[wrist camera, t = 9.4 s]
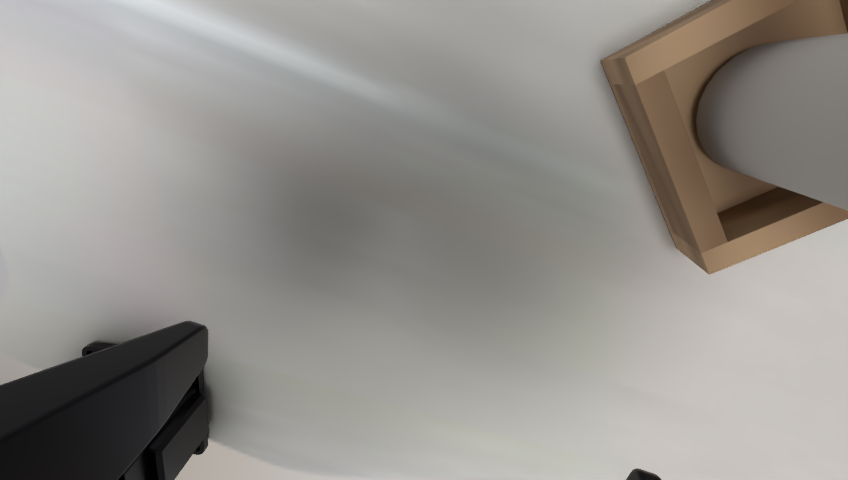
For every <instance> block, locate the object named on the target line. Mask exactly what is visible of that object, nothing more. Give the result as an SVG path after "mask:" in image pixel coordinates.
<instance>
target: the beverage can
mask: <svg viewBox="0 0 848 480" xmlns="http://www.w3.org/2000/svg"><path fill="white" fill-rule="evenodd" d="M696 125H697V135H698V138H699V140H700V143H701V145H702V148H703V149H704V151H705V152H706V153H707V154H708V155H709V157H710V158H711V159H712V160H713V161H715V162H716V163H718V164H720V165H721V166H723V167H725V168H727V169H730V170H733V171H736V172H738V173H741V174H744V175H747V176H750V177H753V178H756V179H759V180H761V181H764V182H767V183H770V184H773V185H776V186H779V187H782V188H785V189H787V190H790V191H793V192H796V193H799V194H802V195H805V196H807V197H810V198H813V199H816V200H819V201H822V202H825V203H827V204H830V205H833V206H836V207H839V208H842V209H844V210H847V211H848V33H847V34H838V35H829V36H821V37H812V38H804V39H795V40H786V41H778V42H770V43H766V44H763V45H759V46H755V47H752V48H750V49H748V50H746V51H744V52H742V53H741V54H739V55H737V56H735V57H733V58H732V59H731V60H730V61H729V62H727V63H726V64H725V65H724V66H723V67H722V68H720V69H719V70H718V71H717V73H716V74H715V75H714V77H713V78H712V79H711V81H710V82H709V83H708V85H707V86H706V88H705V90H704V93H703V95H702V97H701V99H700V101H699V106H698V111H697V116H696Z"/></svg>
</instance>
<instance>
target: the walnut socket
mask: <svg viewBox="0 0 848 480" xmlns="http://www.w3.org/2000/svg"><path fill="white" fill-rule="evenodd" d="M847 33H848V0H712V1H710V2H708V3H706V4H704V5H702V6H701V7H699V8H697V9H695V10H693V11H691V12H689V13H688V14H686V15H684V16H682V17H680V18H678V19H677V20H675V21H673V22H671V23H669V24H667V25H666V26H664V27H662V28H660V29H658V30H656V31H654V32H653V33H651V34H649V35H647V36H645V37H643V38H642V39H640V40H638V41H636V42H634V43H632V44H631V45H629V46H627V47H625V48H623V49H621V50H619V51H618V52H616V53H614V54H612V55H610V56H608V57H607V58H605V59H603V60H601V63H602V66H603V68H604V71H605V73H606V75H607V78H608V80H609V83H610V85H611V88H612V90H613V93H614V95H615V98H616V100H617V103H618V105H619V107H620V110H621V112H622V115H623V117H624V120H625V122H626V125H627V127H628V130H629V132H630V135H631V137H632V140H633V142H634V144H635V147H636V149H637V152H638V154H639V157H640V159H641V162H642V164H643V167H644V169H645V172H646V174H647V176H648V179H649V181H650V184H651V186H652V189H653V191H654V194H655V196H656V199H657V201H658V204H659V206H660V209H661V211H662V213H663V216H664V218H665V221H666V223H667V226H668V228H669V231H670V233H671V236H672V238H673V241H674V243H675V245H676V248H677V249H678V250H679V251H681V252H682V253H683V254H684V255H686V256H687V257H688V258H689V259H691V260H692V261H693V262H694V263H695V264H697V265H698V266H699V267H700V268H702V269H703V270H704V271H705V272H707V273H708V274H709V275H710V274H712V273H715V272H717V271H720V270H722V269H725V268H727V267H729V266H732V265H734V264H737V263H739V262H742V261H744V260H747V259H749V258H752V257H754V256H757V255H759V254H762V253H764V252H767V251H769V250H772V249H774V248H777V247H779V246H781V245H784V244H786V243H789V242H791V241H794V240H796V239H799V238H801V237H804V236H806V235H809V234H811V233H814V232H816V231H819V230H821V229H824V228H826V227H829V226H831V225H833V224H836V223H838V222H841V221H843V220H846V219H848V211H847V210H844V209H842V208H839V207H836V206H833V205H830V204H827V203H825V202H822V201H819V200H816V199H813V198H810V197H807V196H805V195H802V194H799V193H796V192H793V191H790V190H787V189H785V188H782V187H779V186H776V185H773V184H770V183H767V182H764V181H761V180H759V179H756V178H753V177H750V176H747V175H744V174H741V173H738V172H736V171H733V170H730V169H727V168H725V167H723V166H721V165H720V164H718V163H716V162H715V161H713V160H712V159H711V158H710V157H709V155H708V154H707V153H706V152H705V151H704V149H703V148H702V145H701V143H700V140H699V138H698V135H697V125H696V116H697V111H698V106H699V101H700V99H701V97H702V95H703V93H704V90H705V88H706V86H707V85H708V83H709V82H710V81H711V79H712V78H713V77H714V75H715V74H716V73H717V71H718V70H719V69H720V68H722V67H723V66H724V65H725V64H726V63H727V62H729V61H730V60H731V59H732V58H733V57H735V56H737V55H739V54H741V53H742V52H744V51H746V50H748V49H750V48H752V47H755V46H759V45H763V44H766V43H770V42H778V41H786V40H795V39H804V38H812V37H821V36H829V35H838V34H847Z"/></svg>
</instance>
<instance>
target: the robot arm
mask: <svg viewBox="0 0 848 480" xmlns="http://www.w3.org/2000/svg"><path fill="white" fill-rule="evenodd" d="M82 356H83V357H80V358H77V359H75V360H72V361H69V362H66V363H63V364H60V365H57V366H54V367H51V368H49V369H46V370H43V371H40V372H37V373H34V374H31V375H28V376H26V377H23V378H20V379H17V380H14V381H11V382H9V383H5V384H3V385H0V480H174V479H175V478H176V476H177V475H178V474H179V472H180V471H181V470H182V468H183V467H184V465H185V464H186V463H187V461H188V460H189V458H190V457H191V456H192V454H196V455H199V454H202V453H203V452H204V451H205V449H206V448H207V446H208V437H207V434H208V432H209V428H208V415H207V402H206V397H205V395H204V386H203V373H202V369H203V367H204V365H205V363H206V361H207V357H208V329H207V327H206V326H204V325H201V324H198V323H195V322H192V321H185V322H182V323H179V324H176V325H173V326H170V327H167V328H164V329H161V330H158V331H156V332H153V333H150V334H147V335H144V336H141V337H138V338H135V339H132V340H130V341H127V342H124V343H121V344H118V345H109V344H102V343H90V344H89V345H87V346H86V347H84V348H83V350H82ZM626 480H661V479H660V478H659V477H658V476H657V475H656V474H653V473H650V472H647V471H644V470H641V469H634V470H632V472H631V473H630V474H629V476H628V477H627V479H626Z"/></svg>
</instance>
